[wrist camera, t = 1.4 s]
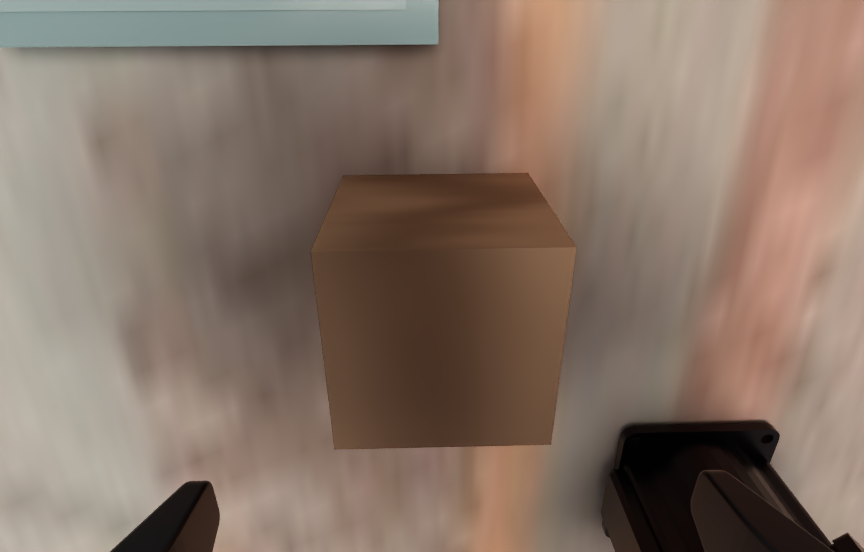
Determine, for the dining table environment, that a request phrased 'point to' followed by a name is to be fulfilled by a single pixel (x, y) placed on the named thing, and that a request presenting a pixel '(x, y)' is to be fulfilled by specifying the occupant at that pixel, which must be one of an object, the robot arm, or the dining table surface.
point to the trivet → (216, 22)
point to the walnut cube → (442, 310)
